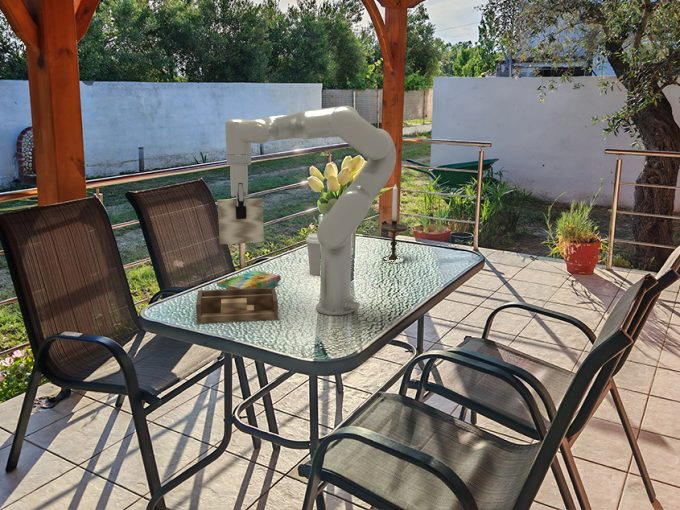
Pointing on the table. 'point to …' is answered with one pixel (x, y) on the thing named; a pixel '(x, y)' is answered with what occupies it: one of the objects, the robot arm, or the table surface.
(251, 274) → the puzzle game
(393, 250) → the candlestick
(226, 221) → the birch sheet
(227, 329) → the table surface
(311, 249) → the coffee cup
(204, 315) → the walnut rack
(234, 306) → the tan wooden block
